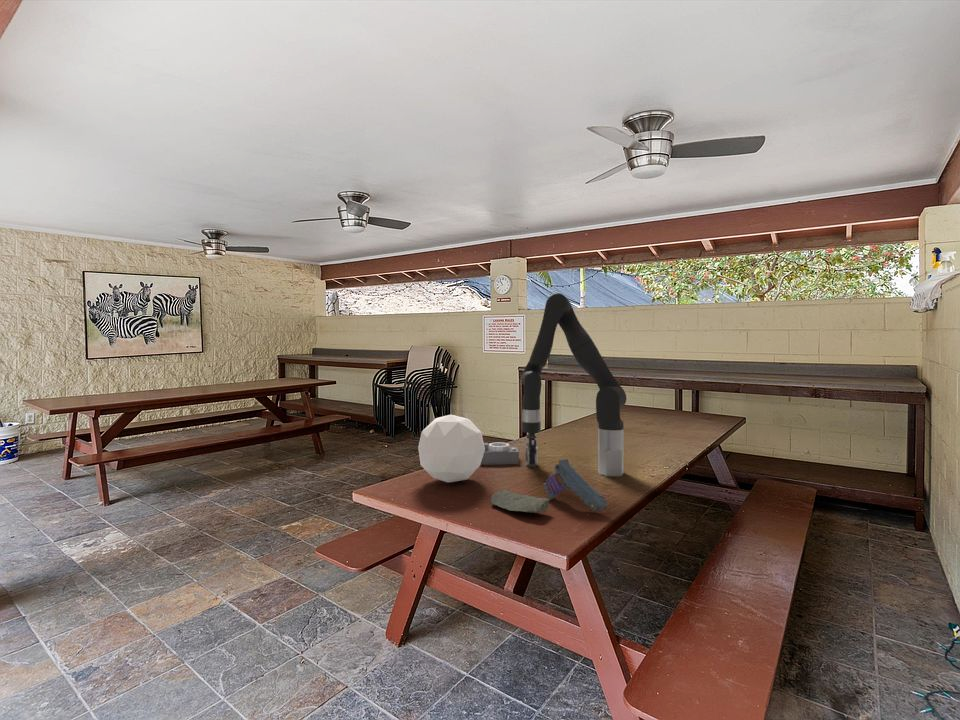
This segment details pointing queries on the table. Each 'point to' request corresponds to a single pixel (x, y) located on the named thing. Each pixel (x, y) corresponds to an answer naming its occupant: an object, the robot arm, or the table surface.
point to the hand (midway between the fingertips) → (531, 461)
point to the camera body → (500, 454)
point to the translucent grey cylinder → (528, 456)
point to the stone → (519, 502)
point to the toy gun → (573, 486)
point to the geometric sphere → (451, 448)
